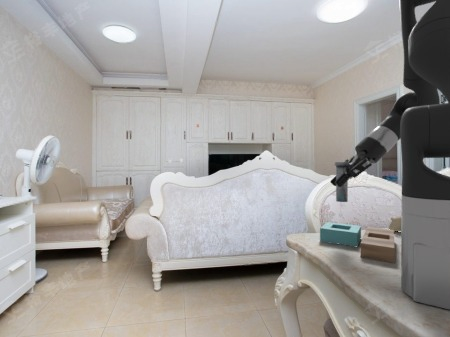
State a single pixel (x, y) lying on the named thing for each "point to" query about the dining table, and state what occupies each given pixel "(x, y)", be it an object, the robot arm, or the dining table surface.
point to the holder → (340, 233)
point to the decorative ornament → (395, 224)
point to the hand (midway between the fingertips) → (335, 184)
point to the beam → (378, 244)
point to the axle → (343, 191)
